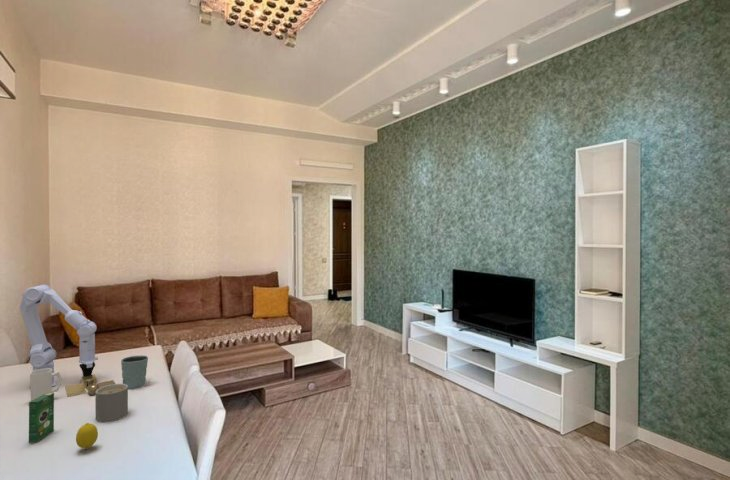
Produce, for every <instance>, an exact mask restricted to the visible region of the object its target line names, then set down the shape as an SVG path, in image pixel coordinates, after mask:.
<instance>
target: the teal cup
mask: <svg viewBox="0 0 730 480" xmlns="http://www.w3.org/2000/svg"><path fill="white" fill-rule="evenodd" d="M120 361H121V376H122V377H121V378H122V384H126V385H127V386H128V391H129V390H136V389H140V388H142V387H144V386H146V381H147V380H146V377H147V368H148V361H149V357H148V356H147V355H132V356H126V357H124V358H121V360H120Z"/></svg>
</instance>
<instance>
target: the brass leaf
mask: <svg viewBox="0 0 730 480" xmlns="http://www.w3.org/2000/svg"><path fill="white" fill-rule="evenodd" d="M88 382H92V383H96V384H97V376H96V374H94V373H93V374H92V375H89V376H83V375H82V376H81V382H79V383H74V384H70V385H65V386H64V390H65V393H66V395H67V398H69V397H74V396H79V395H83V394H86V393H87V392H86V391H87V386H88Z"/></svg>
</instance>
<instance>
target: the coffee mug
mask: <svg viewBox="0 0 730 480" xmlns="http://www.w3.org/2000/svg"><path fill="white" fill-rule="evenodd" d="M128 391H129V390H128V386H127V385H126V384H123V383H115V384H112V385H107V386H104V387H101V388H99V389H97V390H96V393H95V395H94V396H95V401H94V402H95V406H94V407H95V411H94V412H95V421H96V422H97V423H98V422H99V423H110V422H111V423H112V422H115V421H118V420H120V419H123V418H124V417H126V416H127V415H128V413H129V404H128V403H129V399H128V398H129V392H128Z"/></svg>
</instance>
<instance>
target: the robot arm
mask: <svg viewBox="0 0 730 480" xmlns="http://www.w3.org/2000/svg"><path fill="white" fill-rule="evenodd" d="M21 296H22V299H21V301H20V305H19V310H20V314H21V317H22V320H23V324H24V326H25V329H26V333H27V335H28V336H27V337H28V339H29V343H30V346H31V349H30V351H29V356H30V358H29V363H30V365H31V367H32V371H35V370H39V369H46V368H50V369H52V373H55V362H54V360H55V359H56V357H57V351H56V350H55V349H54V348H53V347H52V344H51V343H50V342H48V340H47V337H46V334H45V330H44V327H43V324H42V322H41V318H40V315H39V312H38V309H37V308H38V307H39V306H40V305H41V303H43V304H49V305H51V306H53V307H54V308H55V309H56V310H58V311H59V312H60V313H61V314H62V315H64V321H65V322H67V323H68V324H69V325H70V326H72V327H73V329H74V330H76V334H77V335H78V336H79V344H78V345H79V352H78V353H79V360H78V363H80V364H79V368H80V369H81V371H82V377H83V376H89V375H93V370H94V368H95V367H96V363H95V361H99V357H98V356H97V357H96V334H95V333H96V331H97V328H98V327H97V324H96V322H94V321H91V320H90V319H88V318H86V317H85V316H84V315H83V312H82V311H79V310H77V309H76V310H75V309H72V308H71V307H70V306H69V305H68V304H67V303H66V302H65V300H63V299H62V298H61V297H60V296H59V295H58V293H57V292H56V291H55V289H53V288H51V287H50V285H48V284H39V285H37V286H30V287H28V288H27V289H26V290H24V292H23V293H22V294H21ZM56 385H57V384H56V380H55V376H53V377H52V387H57V386H56Z"/></svg>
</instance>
